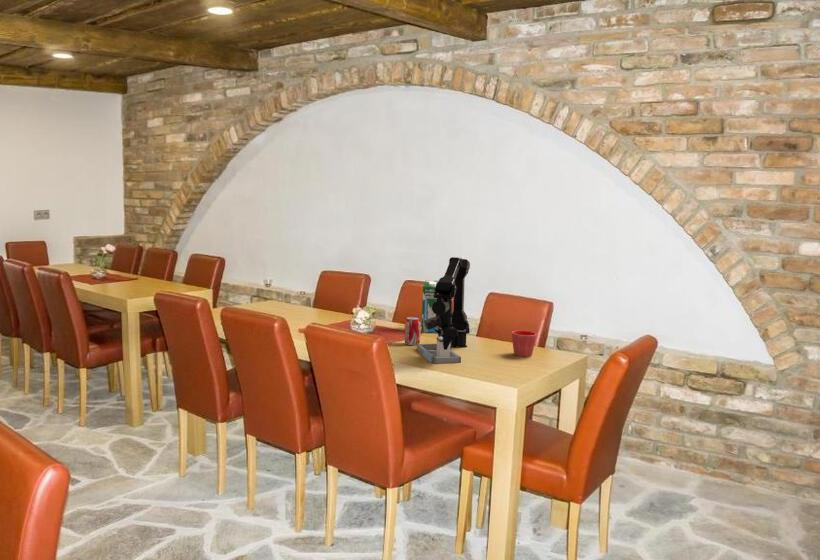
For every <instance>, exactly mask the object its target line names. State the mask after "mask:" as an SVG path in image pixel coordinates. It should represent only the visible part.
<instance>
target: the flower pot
mask: <svg viewBox="0 0 820 560" xmlns="http://www.w3.org/2000/svg"><path fill="white" fill-rule="evenodd" d="M511 338H512V339H511V340H512V349H513V350H512V351H513V355H515V356H518V357H523V356H526V357H527V356H529V357H532V356H533V352H534V348H535V344H536V339H537V333H536V332H533V331H530V330H512V331H511ZM526 357H525V358H526ZM527 358H528V357H527Z"/></svg>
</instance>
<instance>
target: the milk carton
mask: <svg viewBox="0 0 820 560" xmlns="http://www.w3.org/2000/svg"><path fill="white" fill-rule="evenodd" d="M438 281H439V280H431V279H428V280H427V279H425V281H424V283H423V286H422V303H421V307H422V308H421V330H420V333H427V334H428V333H429V334H430V333H431V334H437V333H436V332H435V331H434V329H436V327H435V328H432V329H430V330H428V329H426V327H425V324H424V321H425V320H427V319H430V318H433V317H436V314H435V313H434V312H433V311H432V305H433V303H434V302H436V301H437V298H434V293H435V288H436V284H437V283H438Z"/></svg>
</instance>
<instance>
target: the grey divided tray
mask: <svg viewBox="0 0 820 560" xmlns="http://www.w3.org/2000/svg"><path fill="white" fill-rule="evenodd" d="M417 349H418V350H419V351H420V352H419V351H418V350H417ZM416 350H417V351H418V352H419V353H420V354H421V355H423V358H425V360H426V361H428V362H429V363H431V364H453V363H452V362H460V363H462V357H461V356H460V355H459V354H458V353H456V352H455V351H453V350H452V349H451V348H450V356H451V357H438V356H436V354H437V343H419V344H417V345H416Z"/></svg>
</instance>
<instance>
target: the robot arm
mask: <svg viewBox="0 0 820 560" xmlns="http://www.w3.org/2000/svg"><path fill="white" fill-rule="evenodd" d="M470 268H471V262H470V261H469V260H468V259H466V258H461V257H450V258H449V260H448V266H447V268H446V270H445V274H444V275H443V276H442V277H440V278H439V279H438V280H437V281H438V283H437V284H436V288H435V293H434V298H437V301H436V302H434V303H433V305H432V311H433V312H434V313H435V314H436V317H433V318H430V319H427V320H425V321H424V324H425V327H426V329H428V330H430V329H432V328H435V327H436V329H434V331H435V332H436V333H435V334H437V337H442V338H443V346H444V350H447V348H448V346H449V344H450V347H453V348H467V347H468V345H467V335H468V334H470V332H471V330H470V324H469V321H468V316H467V314H466V312H465V309H464V307H465V305H464V303H465V278H466V277H467V275H468V273H469V270H470Z"/></svg>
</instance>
